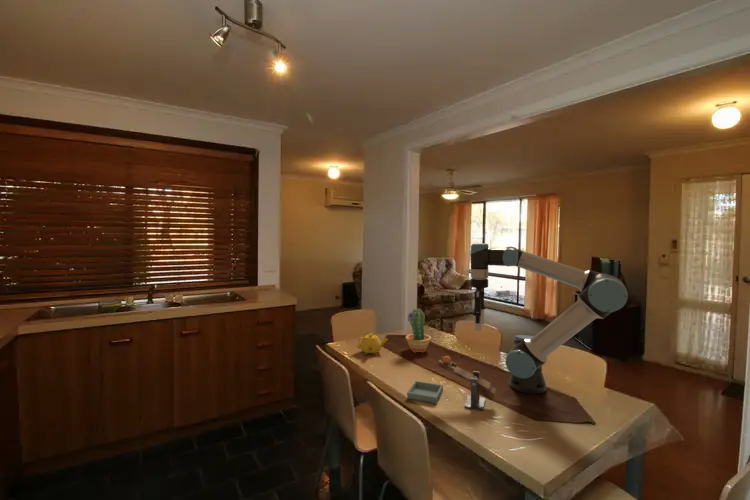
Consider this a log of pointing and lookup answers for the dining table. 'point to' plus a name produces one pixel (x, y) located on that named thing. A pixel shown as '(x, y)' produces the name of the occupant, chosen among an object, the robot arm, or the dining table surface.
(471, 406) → the stand
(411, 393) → the dish
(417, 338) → the potted cactus
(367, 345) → the teapot
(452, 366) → the lever
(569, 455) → the dining table surface
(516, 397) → the dining table surface
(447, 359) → the ball
